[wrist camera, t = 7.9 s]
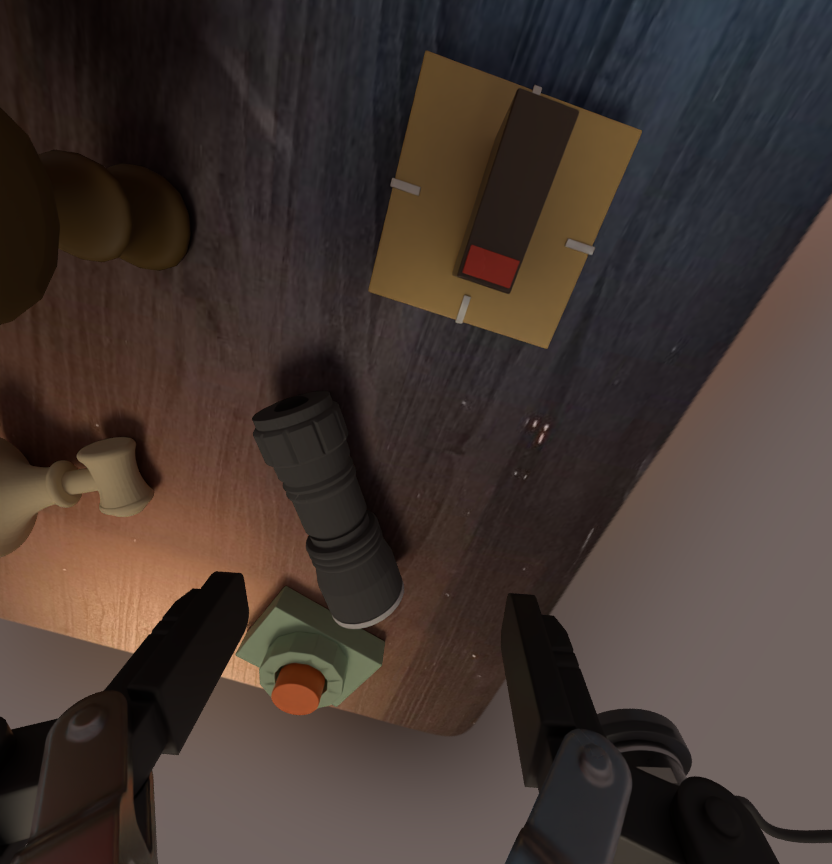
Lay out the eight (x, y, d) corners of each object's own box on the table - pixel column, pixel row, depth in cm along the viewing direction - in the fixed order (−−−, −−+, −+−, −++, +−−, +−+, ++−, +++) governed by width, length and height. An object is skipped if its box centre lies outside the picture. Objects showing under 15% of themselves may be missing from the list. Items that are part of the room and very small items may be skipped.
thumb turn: (495, 136, 17) (519, 82, 12) (541, 153, 17) (583, 106, 12) (451, 275, 19) (456, 276, 15) (492, 288, 20) (511, 295, 15)
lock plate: (621, 145, 19) (648, 127, 17) (537, 343, 23) (549, 352, 21) (425, 73, 18) (423, 43, 16) (372, 290, 22) (365, 292, 20)
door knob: (94, 440, 22) (141, 554, 25) (145, 399, 29) (177, 492, 32) (-132, 471, 19) (-49, 592, 22) (-15, 419, 26) (36, 516, 30)
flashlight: (264, 396, 25) (222, 427, 20) (342, 376, 24) (318, 403, 20) (341, 576, 31) (323, 635, 26) (406, 564, 30) (400, 622, 25)
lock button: (333, 675, 30) (328, 698, 28) (310, 698, 31) (303, 721, 30) (294, 654, 29) (285, 677, 28) (271, 678, 31) (262, 701, 29)
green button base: (385, 641, 33) (379, 687, 30) (342, 682, 36) (331, 729, 32) (285, 585, 31) (265, 626, 28) (246, 632, 34) (223, 676, 30)
